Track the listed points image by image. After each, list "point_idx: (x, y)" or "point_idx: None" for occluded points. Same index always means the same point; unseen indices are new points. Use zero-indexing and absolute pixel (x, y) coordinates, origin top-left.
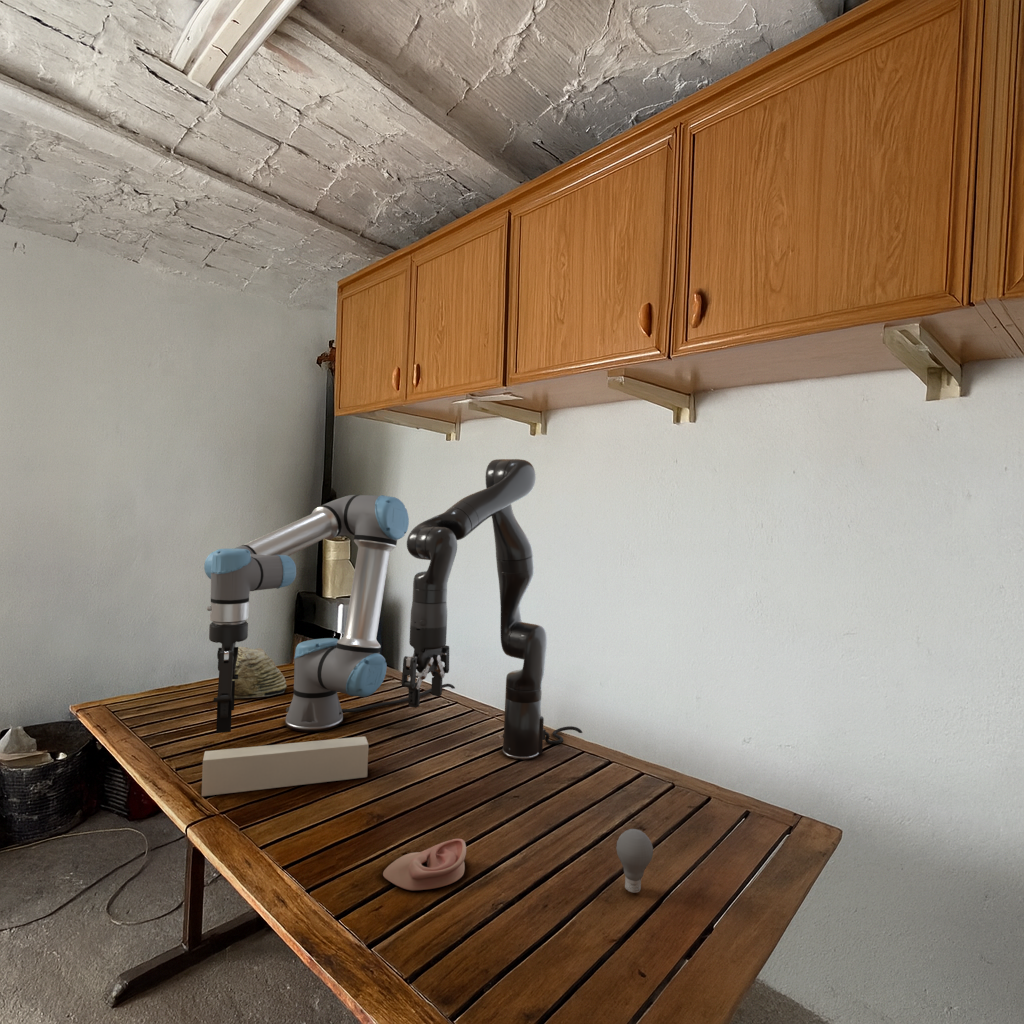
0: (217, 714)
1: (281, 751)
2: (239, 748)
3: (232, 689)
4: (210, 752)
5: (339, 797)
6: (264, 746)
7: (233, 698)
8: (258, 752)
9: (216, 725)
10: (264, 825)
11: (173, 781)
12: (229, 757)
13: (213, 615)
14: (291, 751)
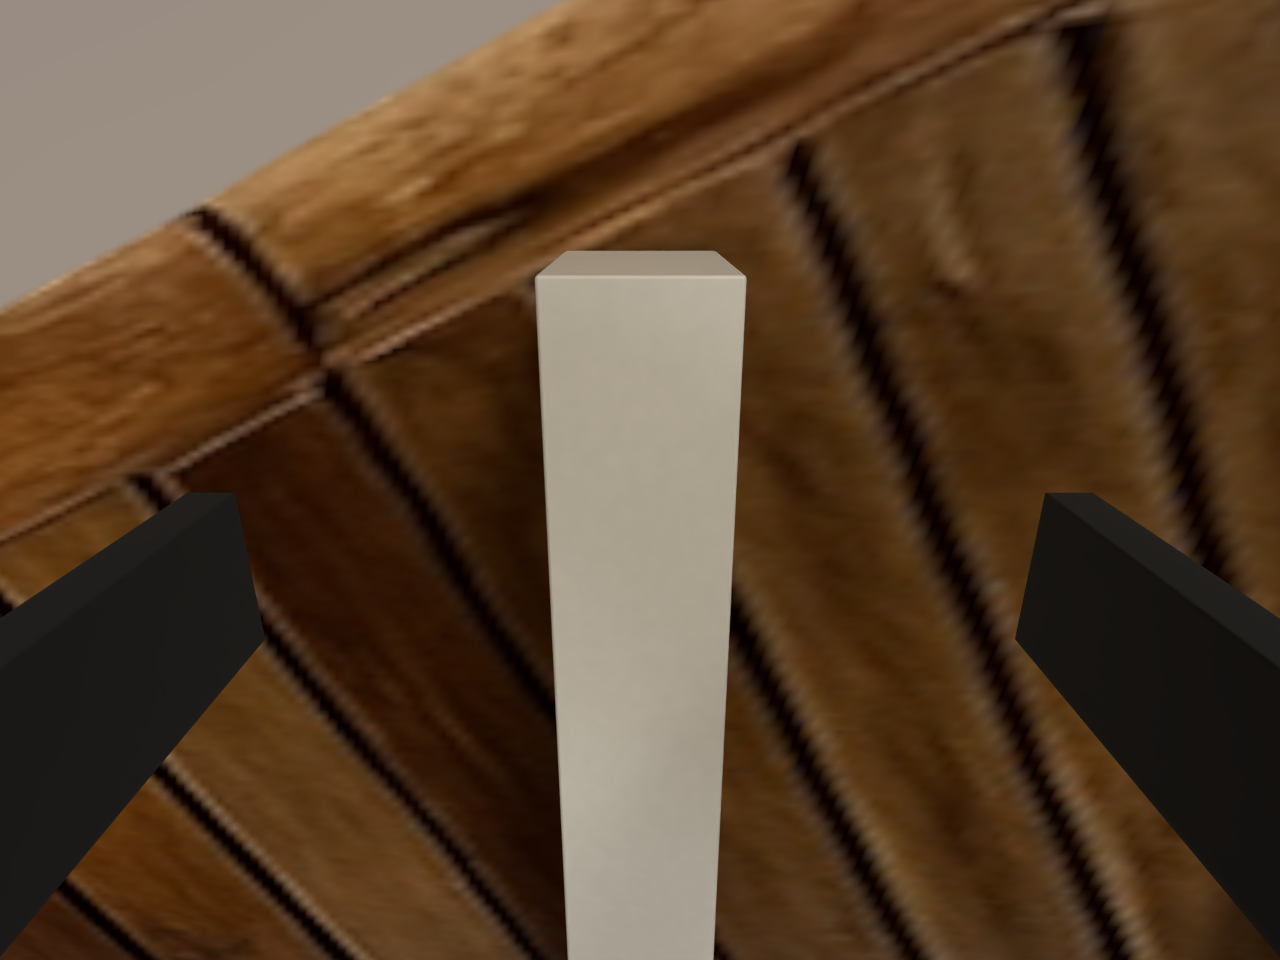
0: (3, 628)
1: (581, 791)
2: (721, 539)
3: (1216, 839)
4: (698, 325)
5: (409, 867)
6: (709, 697)
7: (1103, 736)
8: (599, 663)
9: (126, 535)
10: None
11: (864, 31)
12: (551, 477)
13: None
14: (564, 842)
